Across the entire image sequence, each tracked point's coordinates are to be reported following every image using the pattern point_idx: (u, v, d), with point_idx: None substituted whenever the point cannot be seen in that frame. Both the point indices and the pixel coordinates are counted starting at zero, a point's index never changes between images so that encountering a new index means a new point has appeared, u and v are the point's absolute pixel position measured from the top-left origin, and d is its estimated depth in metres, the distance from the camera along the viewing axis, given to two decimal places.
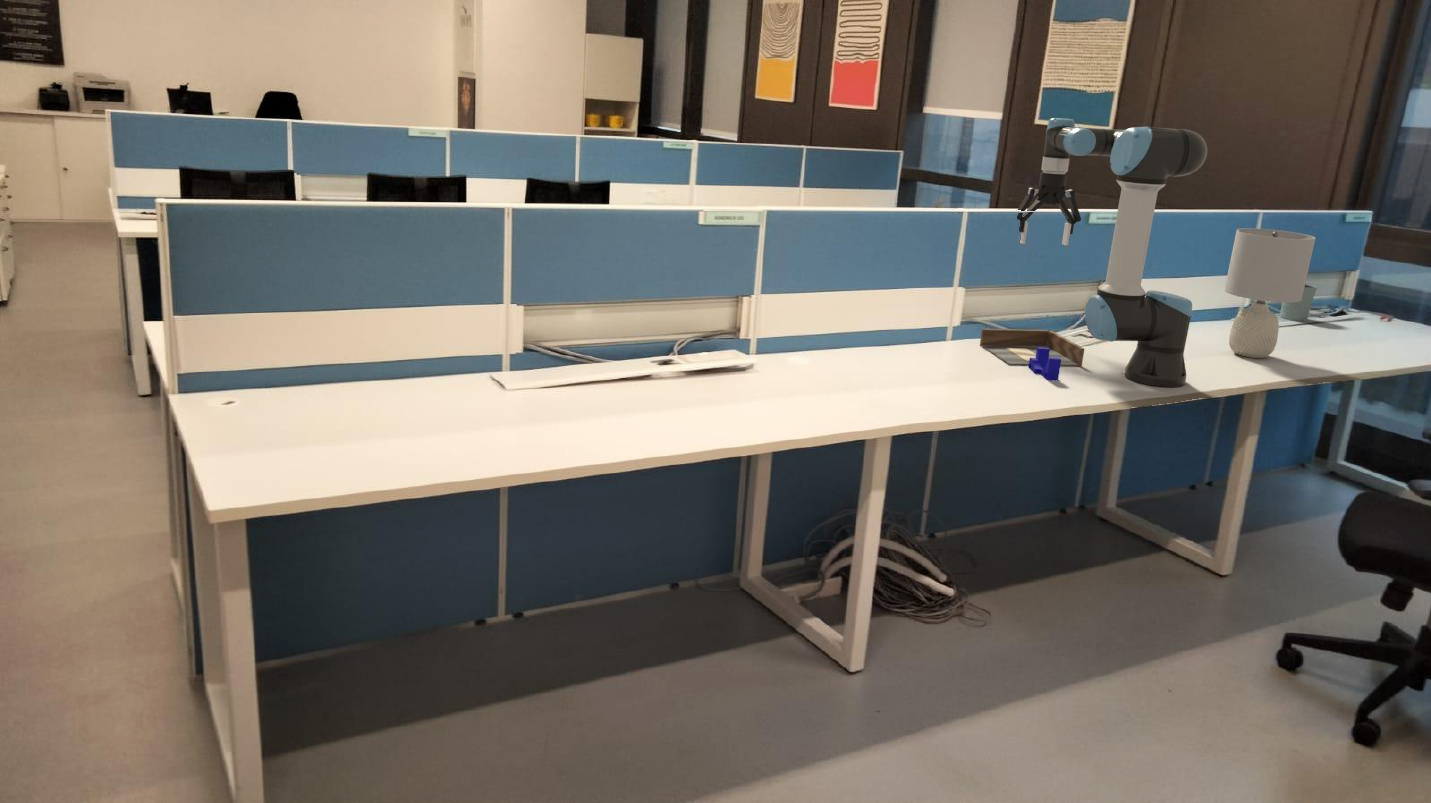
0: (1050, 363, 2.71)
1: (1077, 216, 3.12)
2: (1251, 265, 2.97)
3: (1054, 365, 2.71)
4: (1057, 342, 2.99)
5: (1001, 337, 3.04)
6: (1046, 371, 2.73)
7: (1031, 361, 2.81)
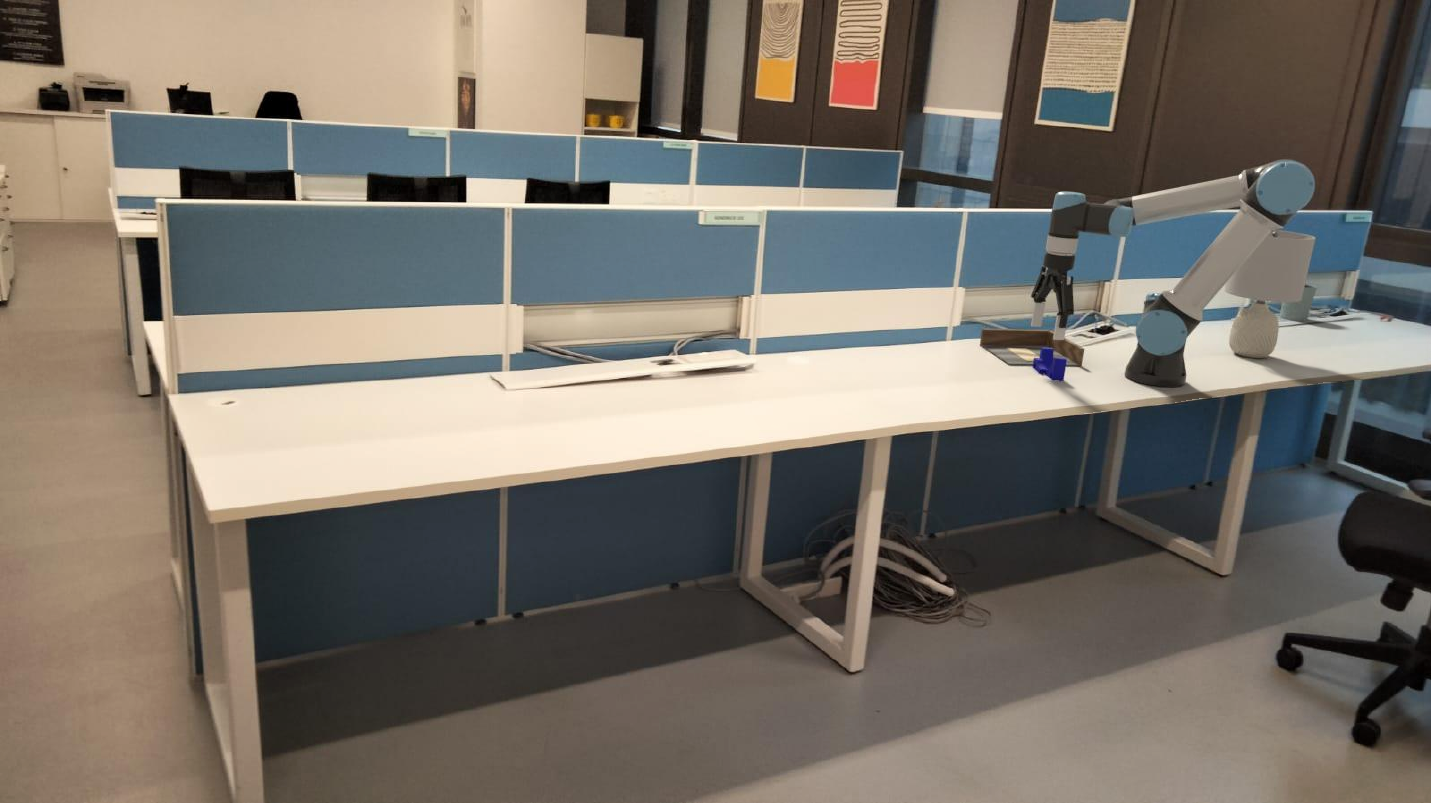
0: (1056, 363, 2.71)
1: (1063, 308, 2.64)
2: (1251, 265, 2.97)
3: (1059, 365, 2.71)
4: (1057, 342, 2.99)
5: (1001, 337, 3.04)
6: (1051, 371, 2.73)
7: (1035, 361, 2.81)
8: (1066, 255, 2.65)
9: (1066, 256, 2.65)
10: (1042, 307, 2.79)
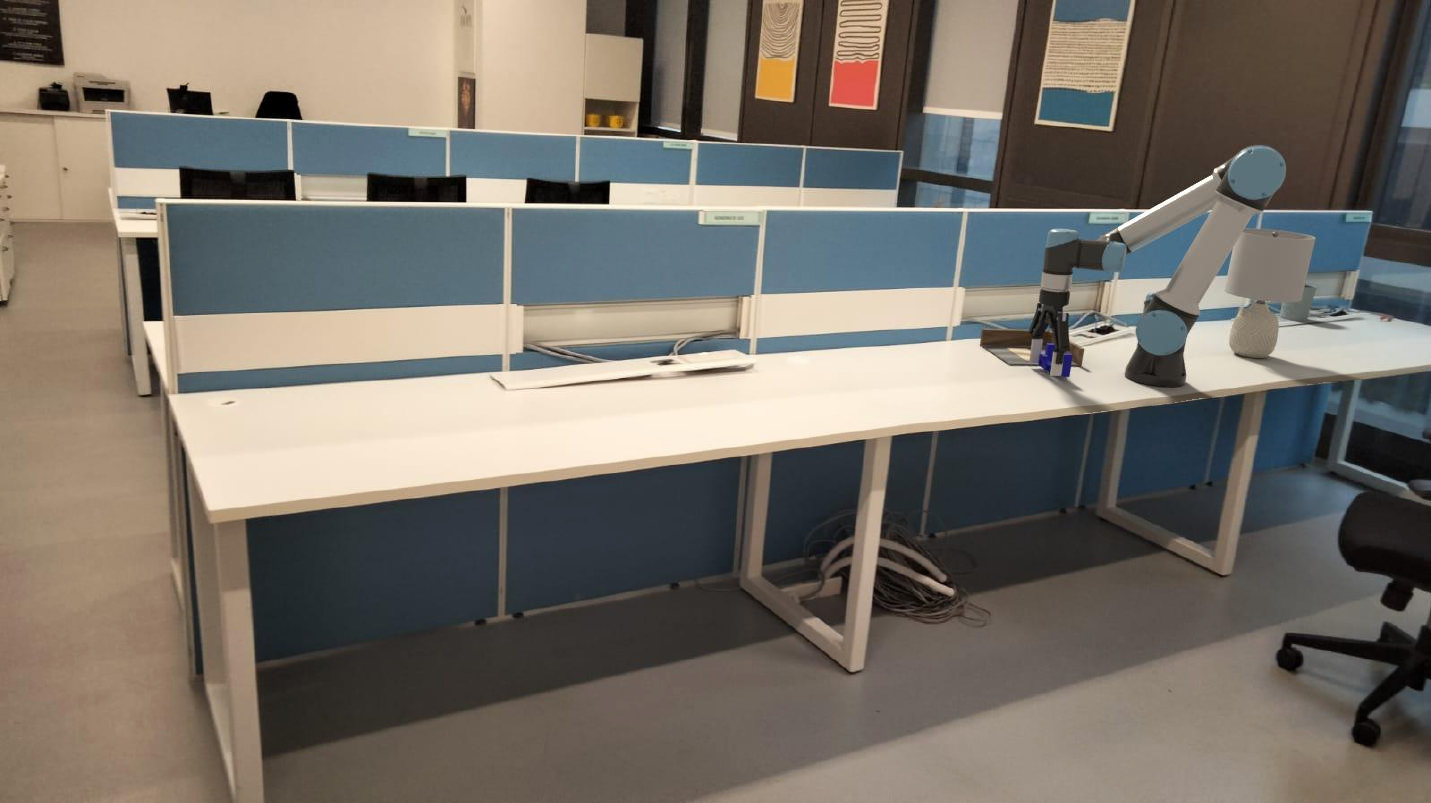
0: None
1: (1059, 344, 2.67)
2: (1251, 265, 2.97)
3: (1065, 361, 2.71)
4: None
5: (1001, 337, 3.04)
6: None
7: (1041, 357, 2.81)
8: (1061, 291, 2.68)
9: (1061, 292, 2.68)
10: (1040, 343, 2.82)
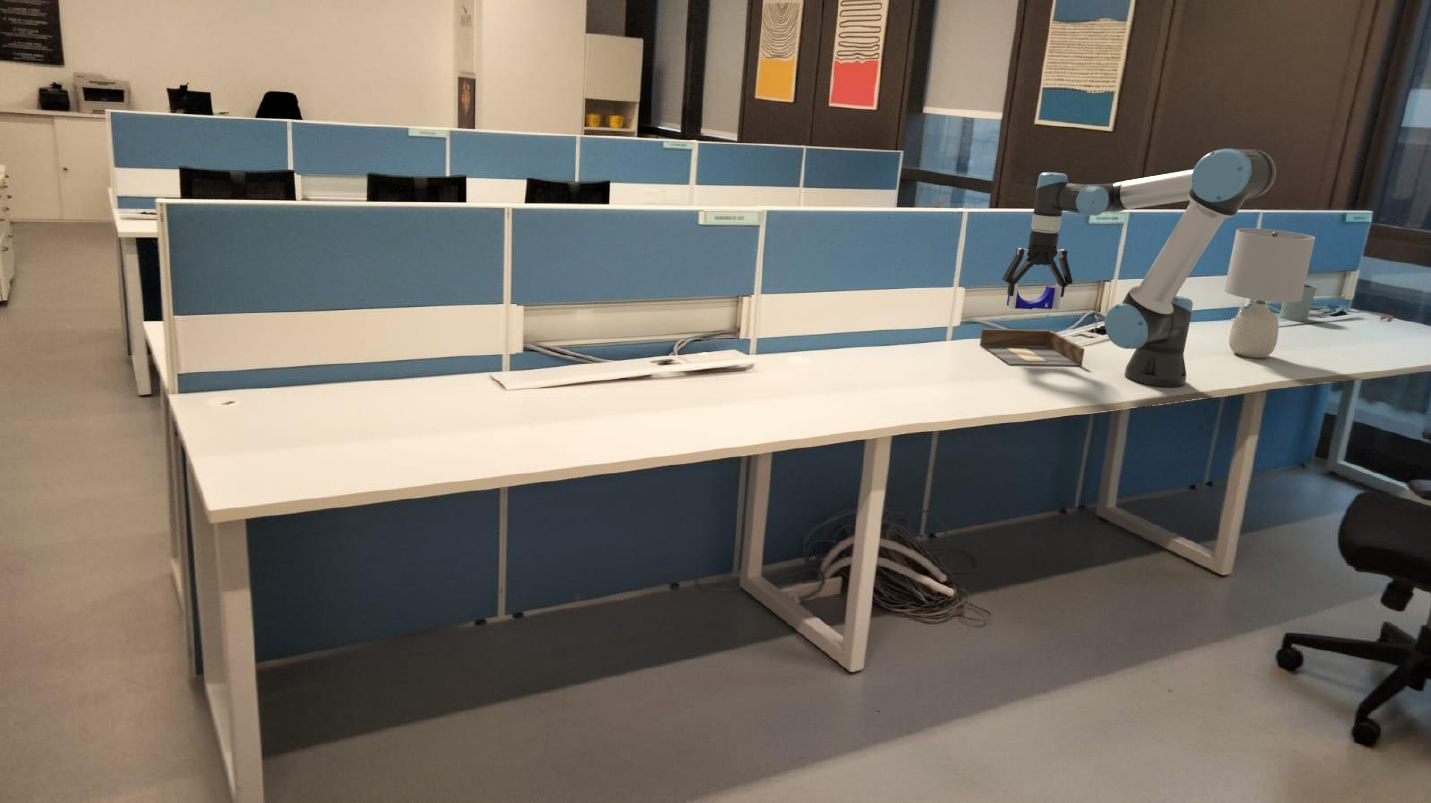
0: None
1: (1068, 278, 2.88)
2: (1251, 265, 2.97)
3: None
4: (1057, 342, 2.99)
5: (1001, 337, 3.04)
6: (1048, 300, 2.91)
7: (1018, 300, 2.90)
8: None
9: None
10: None
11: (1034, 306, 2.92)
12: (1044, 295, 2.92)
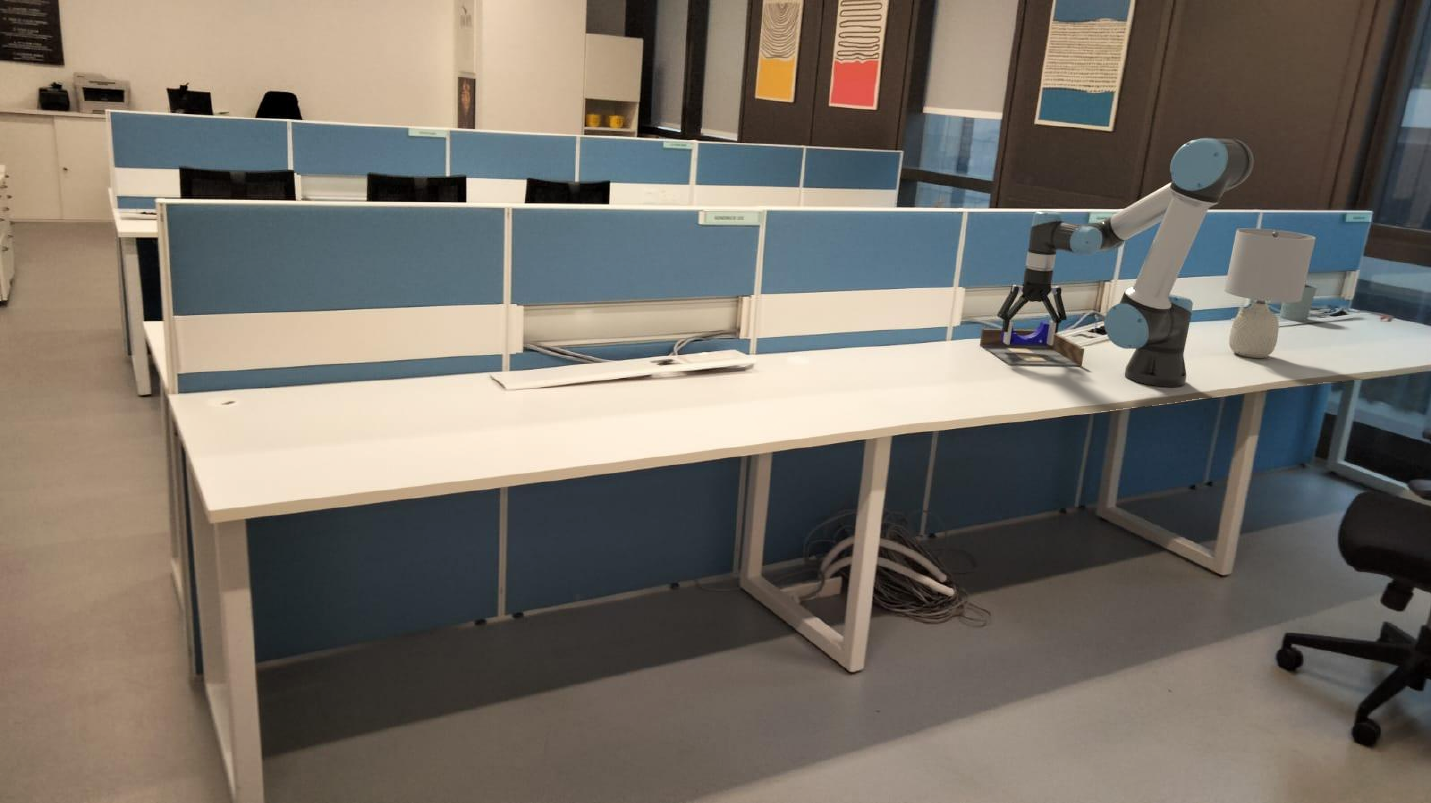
0: None
1: (1063, 314, 2.91)
2: (1251, 265, 2.97)
3: None
4: (1057, 342, 2.99)
5: (1001, 337, 3.04)
6: (1043, 336, 2.95)
7: (1013, 336, 2.93)
8: None
9: None
10: None
11: (1028, 341, 2.95)
12: (1038, 331, 2.96)
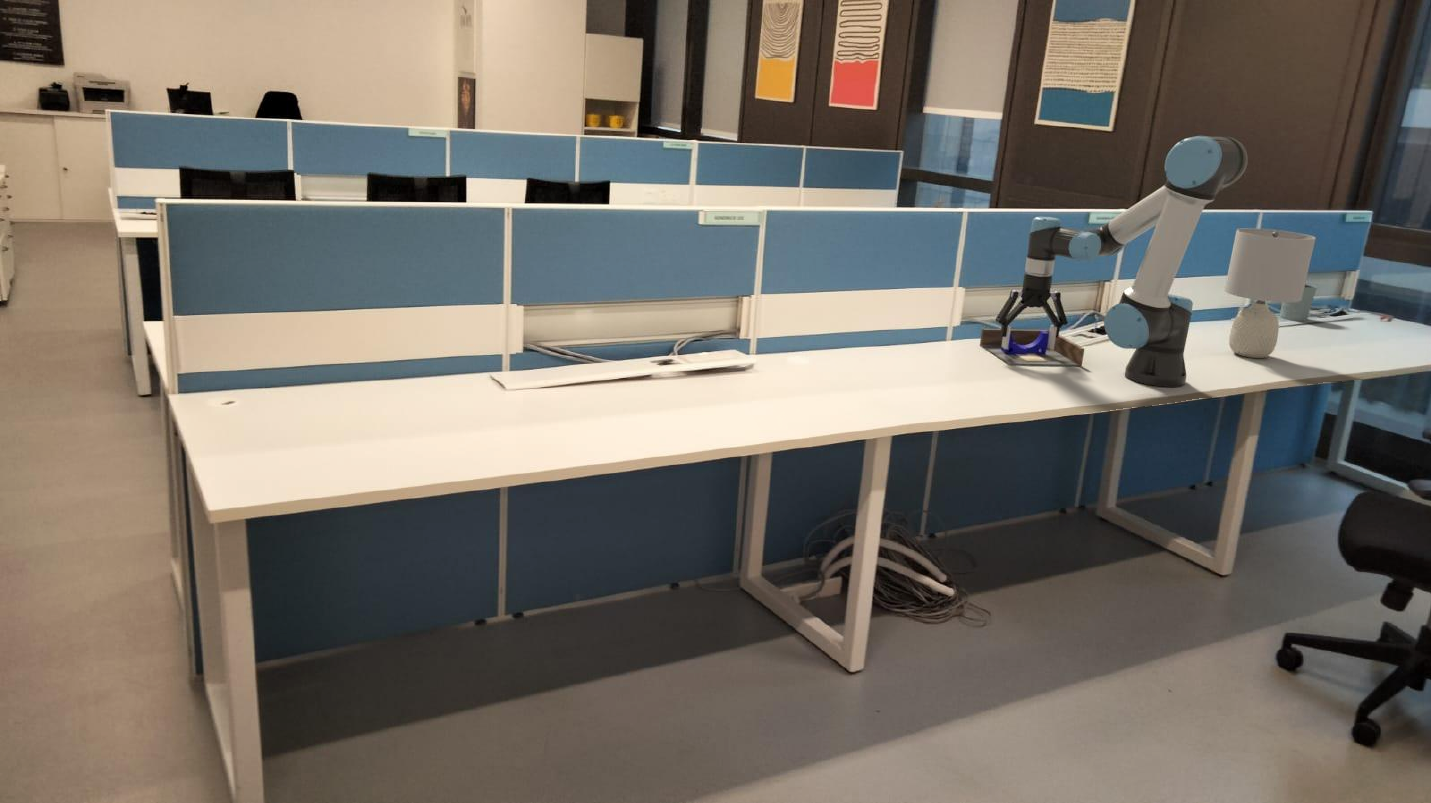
0: None
1: (1063, 319, 2.91)
2: (1251, 265, 2.97)
3: None
4: (1057, 342, 2.99)
5: (1001, 337, 3.04)
6: (1042, 345, 2.95)
7: (1012, 345, 2.94)
8: None
9: None
10: None
11: (1028, 351, 2.96)
12: (1037, 340, 2.96)
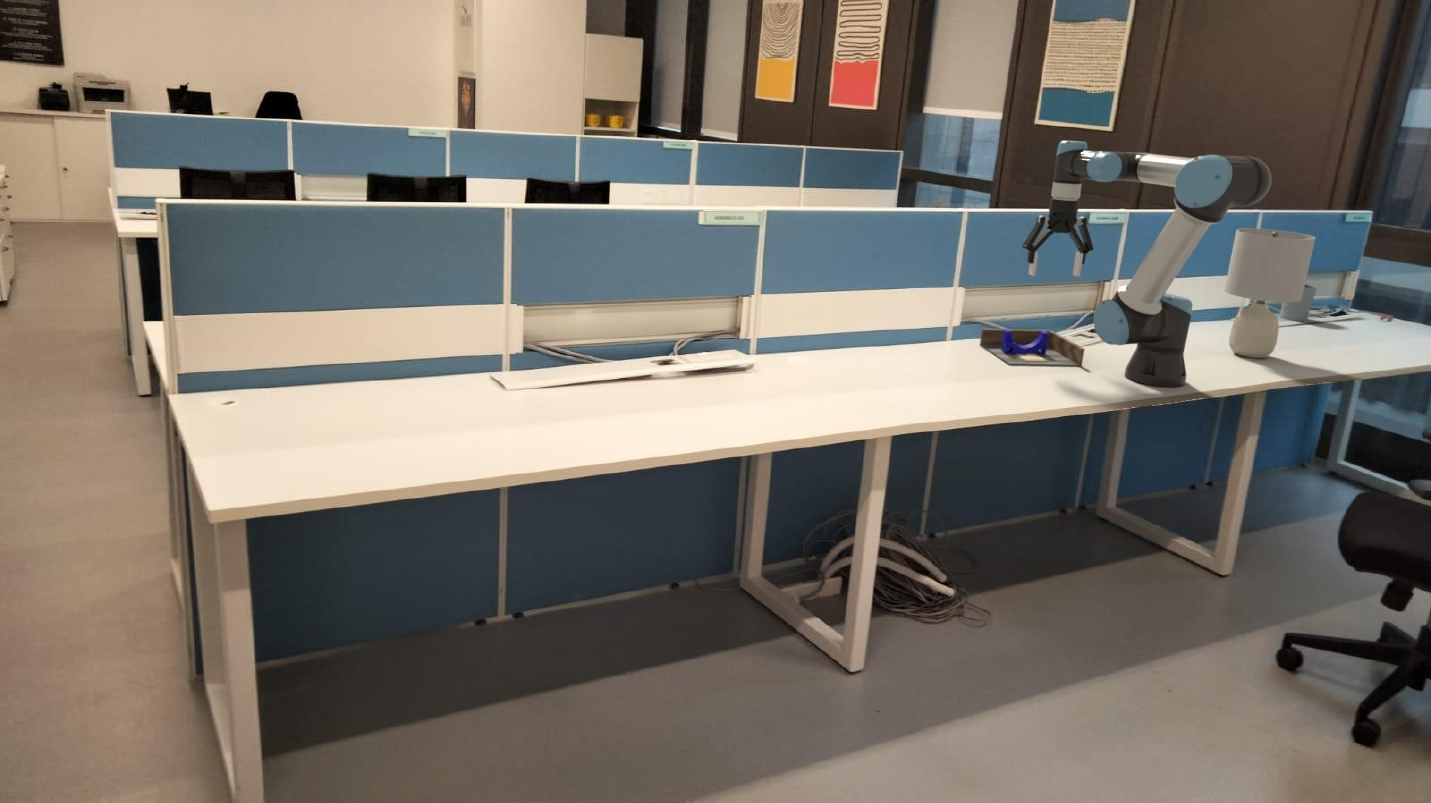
0: None
1: (1089, 245, 2.90)
2: (1251, 265, 2.97)
3: None
4: (1057, 342, 2.99)
5: (1001, 337, 3.04)
6: (1042, 345, 2.95)
7: (1012, 345, 2.94)
8: None
9: None
10: None
11: (1028, 351, 2.96)
12: (1037, 340, 2.96)
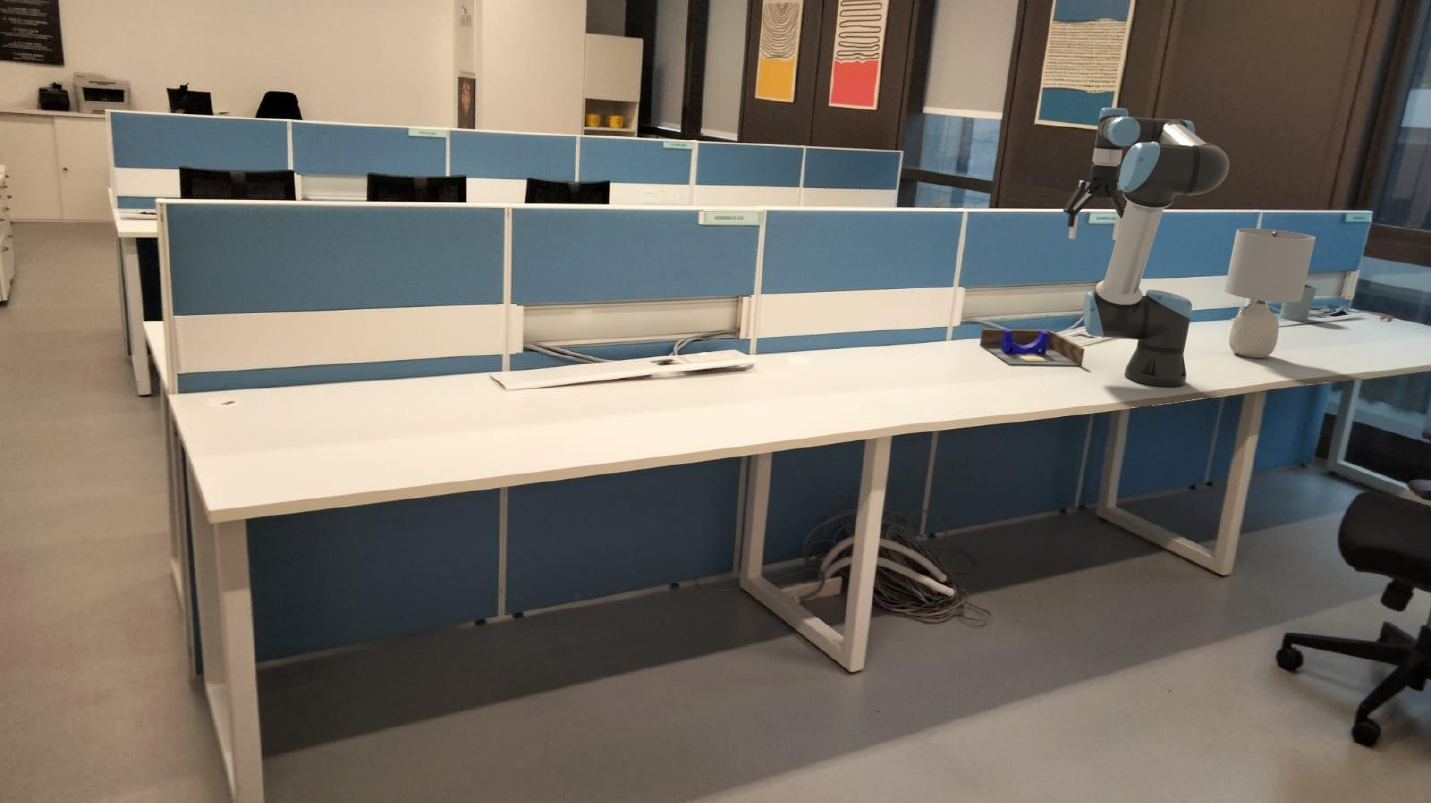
0: None
1: None
2: (1251, 265, 2.97)
3: None
4: (1057, 342, 2.99)
5: (1001, 337, 3.04)
6: (1042, 345, 2.95)
7: (1012, 345, 2.94)
8: None
9: None
10: None
11: (1028, 351, 2.96)
12: (1037, 340, 2.96)
